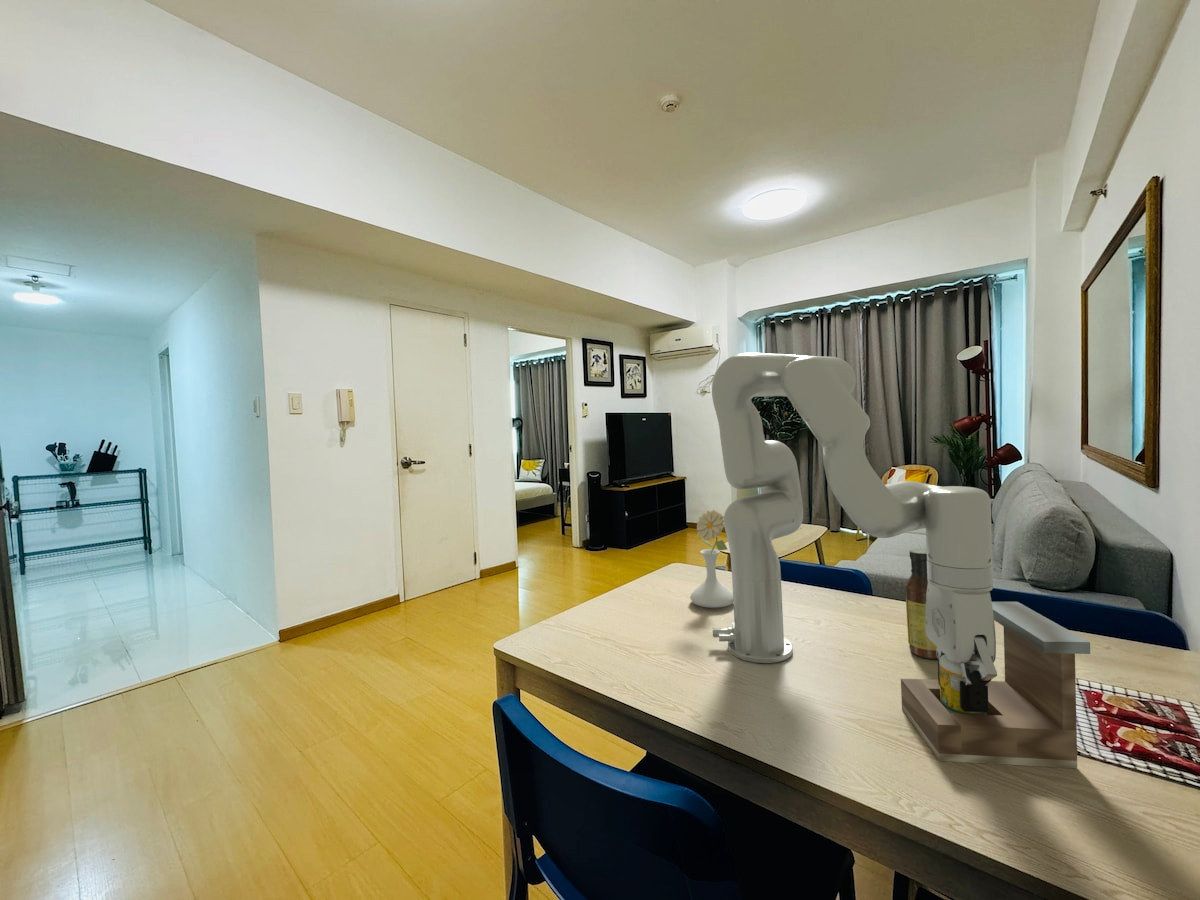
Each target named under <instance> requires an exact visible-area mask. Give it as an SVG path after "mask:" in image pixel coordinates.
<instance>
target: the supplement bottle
mask: <svg viewBox="0 0 1200 900" xmlns="http://www.w3.org/2000/svg"><path fill="white" fill-rule="evenodd" d="M938 660H939V671H940V702H941V704H942V705H943V706H944V707H945V708H946V709H947V710H948V712H949V713H950V714H976V715H986V712H965V711H963V710H962V709H961V707H960V681H963V678H962V672H961V667H960V664H958V663H955V662H954V661H952V660H951V659H950V658H949V657H948V656H947V655H946V654H944V655H943V656H941V657H940V659H938ZM969 660H977V658H976V656H971V658H970V659H969ZM968 666H969V671H970V674H971V673H972V672H973V671H977V670H978V669H979V668H978V665H968Z"/></svg>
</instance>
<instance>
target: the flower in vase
mask: <svg viewBox="0 0 1200 900" xmlns="http://www.w3.org/2000/svg"><path fill="white" fill-rule="evenodd" d="M724 528H725V527H724V515H722V513H720V512H718V511H717V510H715V509H713V510H711V511H710V510H707V511H706V512H703V513H702V515H701V516H699V517H698V521H697V522H696V531H697V533H696V534H697V536H698V537H700V539H701V541H702V542H703V543H704V544H706V545H708V546H709V547H711V548H706V549H701V550H700V551H699V552H700V554H701V556H702V557H703V560H704V562H705V568H706V578H705V580H704V582H703V583H701V584H700V585H698V586H697V587H696V588H695V589H694V590H693V591H692V592H691V594H690V597H689V598H690V601H692V603H693V604H694V605H696V606H700V607H703V608H710V609H718V608H719V609H720V608H724V607H727V606H731V605H732V604H734V603H733V591H732V590H731V589H730V588H728V587H727V586H726V585H724V584H722V582H720V581H719V580H718V578H717V573H716V563H717V557H718V556H719V554H720V552H721V551H726V550H727V551H728V548H727V545H726V543H725V541H724V540H722V539H720V540H718V537H719V536H720V533H722V531H723V530H724ZM711 539H715V542H714V545H713V544H712V543H711V542H710V540H711ZM715 547H716V548H717V549H715Z"/></svg>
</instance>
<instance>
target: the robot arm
mask: <svg viewBox="0 0 1200 900" xmlns="http://www.w3.org/2000/svg"><path fill="white" fill-rule="evenodd" d="M856 384H857V379H856V374H855V370H854V369H853V367H852V366H851V364H850V363H848V362H847V361H846V360H844V359H842V358H840V357H837V356H821V355H820V356H819V355H818V356H817V355H800V354H799V355H798V354H797V355H796V354H786V353H785V354H784V353H765V352H764V353H763V352H743V353H738V354H735V355H732V356H730V357H728V358H727V359H725V360H724V361H723V362H722V363H721V364H720V365H719V367H717V369H716V371H715V373H714V375H713V380H712V384H711V397H712V402H713V403H712V404H713V407H714V411H715V415H716V417H717V422H718V427H719V428H718V429H719V436H720V437H719V438H720V445H721V446H720V447H721V453H722V460H723V461H722V462H723V468H724V474H725V478H726V481H727V482H728V484H729V485H731V487H733V488H735V489H737V490H753V489H760V492H761V493H757V494H753V495H752V494H751V495H748V496H743V497H740V498H738V499H735V500H734V501H732V502H731V503H730V504H729V505H728V506H727V507H726V509H725V511H724V515H723V516H724V519H723V520H724V523H723V524H724V527H723V528H724V530H725V534H726V539H727V542H728V546H729V547H728V548H729V554H730V555H729V556H730V564H731V565H730V566H731V567H730V568H731V582H732V593H733V603H732V604H733V618H734V620H733V621H732V623H731V624H732V625H731V626H727V627H726V628H725V627H724V628H722V627H712V638H718V639H719V640H718V641H719V642H727V648H728V651H729V652H730V653H731V654H732V655H733V656H734V657H736V658H739V659H740V660H743V661H747V662H750V663H751V662H752V663H758V664H775V663H780V662H784V661H786V660H788V659H789V658H790V657H791V656H792V655H793V653H794V652H793V651H794V650H793V644H792V643H791V642H790V641H789V640H788V639H787V638H785V637H784V636H785V634H784V611H783V592H782V574H781V564H780V563H781V562H780V560H779V555H778V554H777V552H776V550H775V547H774V546H773V543H772V541H773V540H777V539H779V538H783V537H787V536H789V535H792V534H794V533H795V532H797V531H798V530H799V529H800V527H801V525H802V524H803V520H804V504H803V497H802V490H801V489H802V488H801V480H800V474H799V469H798V463H797V459H796V457H795V455H794V453H793V451H792V449H790V448H789V447H788V446H787V445H786V444H785V443H784V442H781V441H780V440H773V439H771V440H770V439H769V440H768V439H767V440H766V439H765V435H764V427H763V422H762V417H761V415H760V412H759V411H758V408H756V405H754V402H753V401H752V399H754V398H755V397H786V398H787V399H788V400H789V402H790V403H791V405H792V406H793V407H794V409H795V410H796V412H797V413H798V415H799V416H800V417H801V418H802V420H803V422H804V423H805V424H806V426H807V428H808V429H809V431H811V433H812V434H813V435H814V437H815V439H816V440H817V441H818V443H819V445H820V446H821V448H822V461H823V462H822V463H823V468H824V471H825V478H826V481H827V483H828V486H829V489H830V490H831V492H832V494H833V496H834V497H835V498H836V500H837V502H838V503H839V504H840V506H841V507H842V509H843V510H844V512H845V513H846V515H847V516H848V518H850V520H851V521H852V522H853V523H854V524H855V525H856V526H857V528H858V529H860V530H861V531H862V532H864V533H865V534H867V535H868V536H871V537H874V538H878V539H879V538H880V539H887V538H893V537H896V536H899V535H902V534H905V533H908V532H914V531H918V530H922V529H925V541H926V544H925V545H926V550H927V581H928V585H927V594H926V621H925V629H926V635H927V637H928V638H929V639H930V640H931V641H932V642H933V643H934V644H935V645H936V646H937V651H936V654H937V657H938V659H937V677H938V678H937V680H938V683H939V685H940V671H939V660H940V657H941V656H943V655H944V654H946V655H947V656H948V657H949V658H950V659H951V660H952V661H954V662H955V663H958V664H960V667H961V672H962V678H963V681H960V707H961V709H962V710H963V711H965V712H988V686H990V681H993V679H994V678H997V676H998V672H997V669H996V666H995V661H996V655H997V640H996V639H997V638H996V627H995V620H994V615H993V608H992V602H993V601H992V597H991V591H992V590H993V588H994V587H993V586H994V585H993V581H994V579H993V545H992V544H993V542H992V541H993V540H992V539H993V538H992V537H993V536H992V535H993V534H992V503H991V497H990V495H989V493H988V492H987V491H985V490H984V489H981V488H979V487H978V488H977V487H974V486H973V487H972V486H961V485H958V486H956V485H948V486H940V485H934V484H929V483H925V482H919V481H914V480H913V481H912V480H904V481H903V480H902V481H898V482H894V483H889V484H888V483H887V484H885V483H884V482H883V480H882V479H881V478H880V477H879V475H878V474H877V473H876V471H875V470H874V468H873V467H872V465H871V464H870V462H869V460H868V458H867V455H866V452H865V449H864V447H865V446H864V442H865V441H864V440H865V436H866V434H867V432H868V431H869V429H870V426H871V420H870V416H869V415H868V414H867V412H866V411H865V410H864V408H862V406H861V405H860V404H859V402H858V401H857V400H856V399H855V398H854V396H853V395H852V394H853V391H854V390H855V388H856ZM971 656H976V658H977V660H969V659H970V658H971ZM968 665H978V668H979V669H978V670H977V671H973V672H972V673H971V674H970V671H969V666H968Z"/></svg>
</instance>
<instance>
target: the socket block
mask: <svg viewBox="0 0 1200 900" xmlns="http://www.w3.org/2000/svg"><path fill="white" fill-rule="evenodd" d="M992 608H993V615H994V622H996V623H998V624H1000V625H1001V626H1002V627H1003V654H1004V681H1003V680H1001V681H999V680H998V681H997V680H996V681H994V680H991V681H990V686H988V712H986V715H976V714H950V713H949V712H948V710H947V709H946V708H945V707H944V706H943V705H942V704H941V702H940V685H939V683H938V679H933V678H932V679H926V678H922V679H921V678H920V679H919V678H900V690H901V691H900V694H901V710H902V712H903V713H904V714H905V716H906V717H907V719H908V720H909V721H910V723H911V724H912V725H913V727H914V729H916V732H918V735H920V736H921V738H922V739H923V741H924V742H925V744H926V745H927V746H928V747H929V749H930V750H931V752H932V754H933V755H934V756H935V757H936V759H937V760H938V761H940V762H953V763H954V762H957V763H972V764H973V763H974V764H975V763H976V764H990V765H991V764H993V765H995V764H996V765H1008V766H1009V765H1012V766H1013V765H1014V766H1026V767H1027V766H1031V767H1046V768H1048V767H1049V768H1067V769H1078V735H1077V734H1078V733H1077V731H1078V730H1077V729H1078V728H1077V696H1076V695H1077V691H1076V690H1077V688H1076V687H1077V685H1076V679H1077V678H1076V655H1078V654H1079V655H1091V642H1090V641H1089V640H1087V639H1086V638H1083V637H1082V636H1080V635H1078V634H1076V633H1075V632H1073V631H1070V630H1069V629H1068V628H1066V627H1064V626H1061V625H1060V624H1059V623H1056V622H1055V621H1053V620H1051V619H1049V617H1048V618H1047V617H1046V616H1043V614H1040V613H1038V612H1036V611H1035V610H1033V609H1031V608H1029V607H1028V606H1026V605H1025V604H1023V603H1020V602H1019V601H992Z"/></svg>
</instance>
